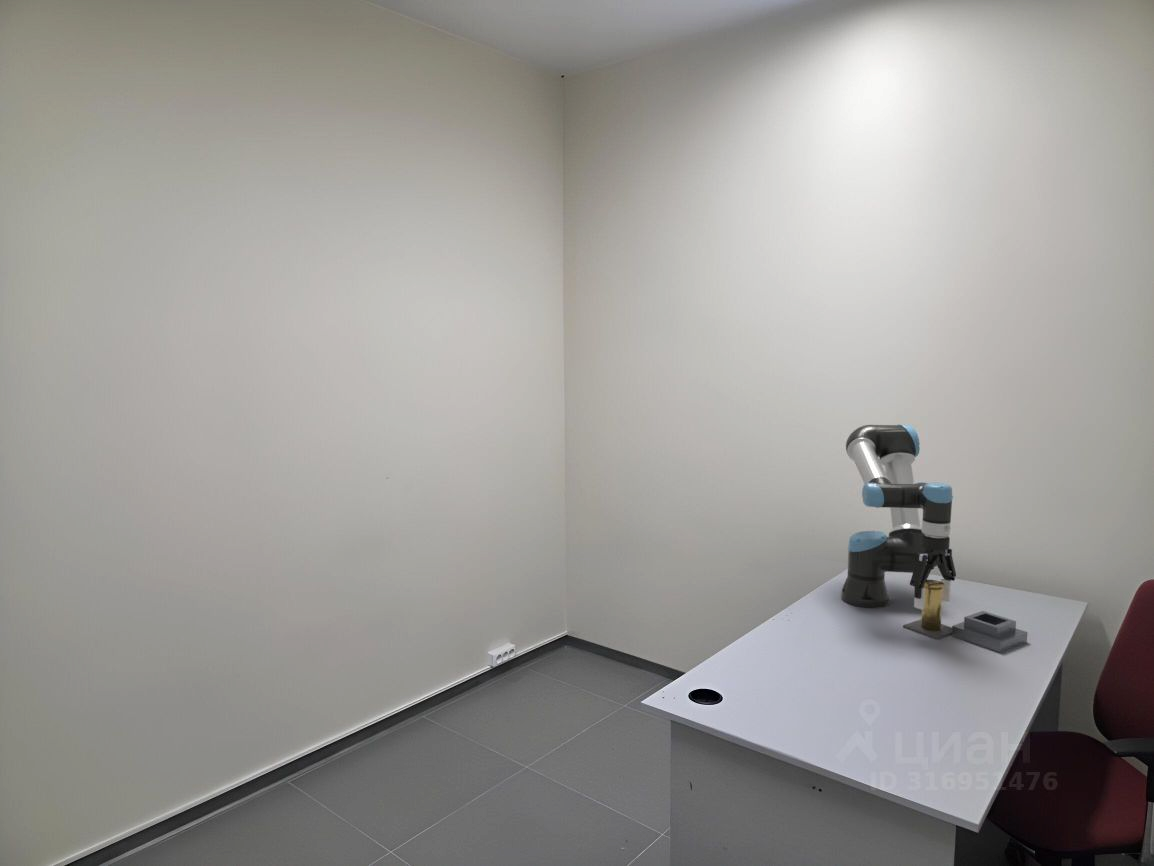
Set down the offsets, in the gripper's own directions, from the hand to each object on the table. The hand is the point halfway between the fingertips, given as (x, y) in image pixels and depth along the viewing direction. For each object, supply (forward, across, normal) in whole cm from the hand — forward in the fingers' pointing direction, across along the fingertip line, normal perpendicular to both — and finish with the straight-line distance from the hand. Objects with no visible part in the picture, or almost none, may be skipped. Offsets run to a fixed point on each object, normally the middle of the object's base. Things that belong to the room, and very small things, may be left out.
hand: (931, 604), depth 209 cm
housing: (+8, +8, -13) cm, 17 cm away
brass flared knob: (+7, 0, 0) cm, 7 cm away
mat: (+8, 0, 0) cm, 8 cm away
